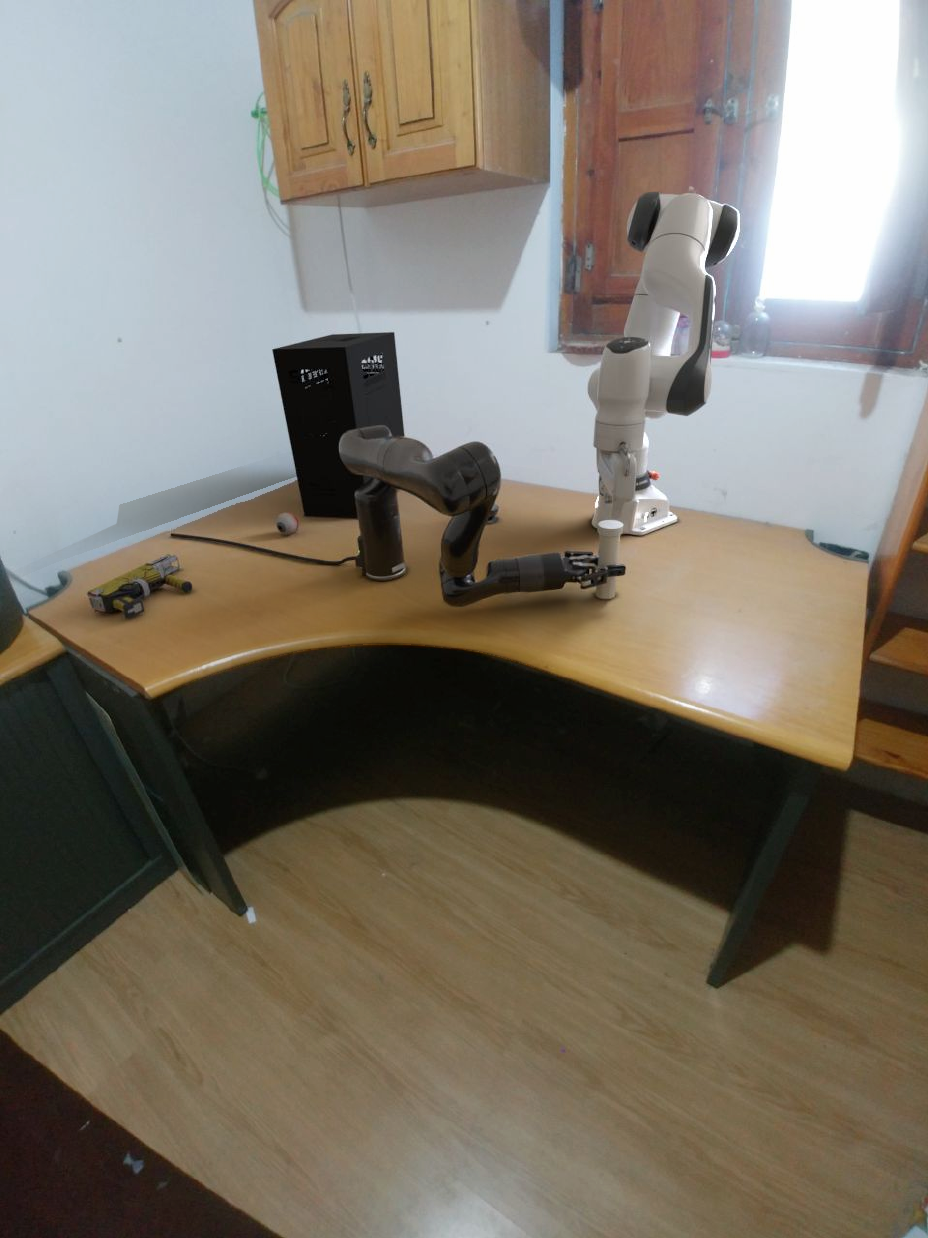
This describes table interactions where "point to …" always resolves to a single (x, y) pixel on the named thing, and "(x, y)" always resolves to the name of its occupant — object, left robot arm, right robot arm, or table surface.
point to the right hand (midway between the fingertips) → (611, 509)
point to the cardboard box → (335, 410)
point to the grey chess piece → (493, 514)
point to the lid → (610, 528)
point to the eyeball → (287, 523)
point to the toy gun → (136, 587)
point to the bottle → (605, 558)
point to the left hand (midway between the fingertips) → (620, 564)
